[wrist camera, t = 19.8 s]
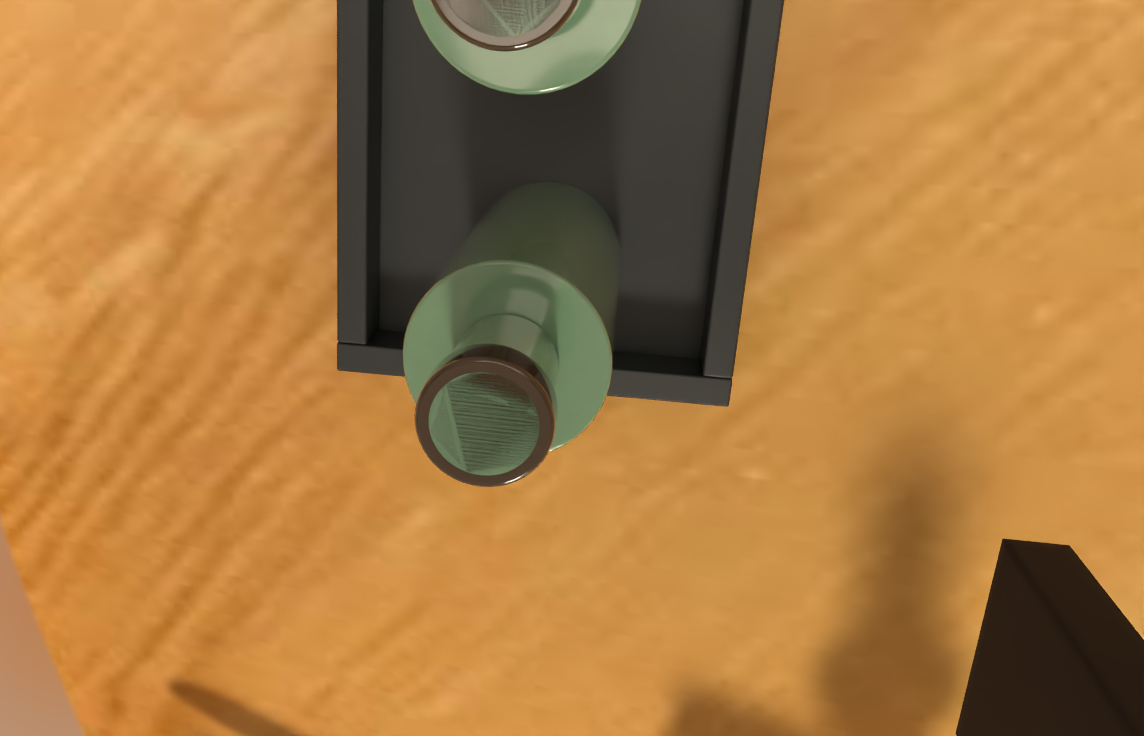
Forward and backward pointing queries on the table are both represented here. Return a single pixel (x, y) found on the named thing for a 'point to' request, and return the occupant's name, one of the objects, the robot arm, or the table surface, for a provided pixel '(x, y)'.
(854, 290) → the table surface
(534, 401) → the loose bottle
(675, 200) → the tray
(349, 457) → the table surface
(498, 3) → the tray bottle
